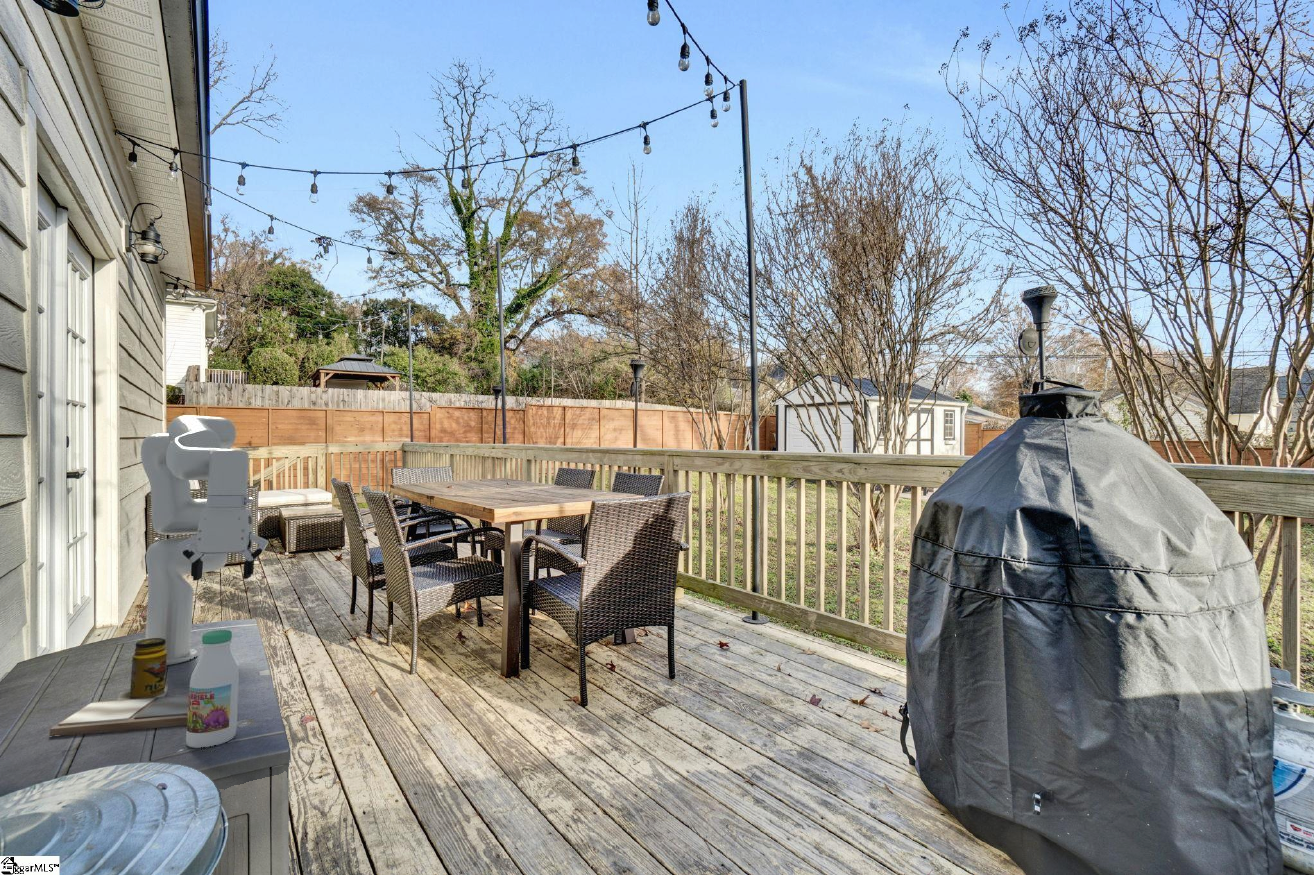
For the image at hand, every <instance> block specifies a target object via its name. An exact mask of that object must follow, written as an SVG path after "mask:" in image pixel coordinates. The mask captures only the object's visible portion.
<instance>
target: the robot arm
mask: <svg viewBox="0 0 1314 875" xmlns="http://www.w3.org/2000/svg"><path fill="white" fill-rule="evenodd" d="M166 432H167V433H165V432H164V433H163V432H162V433H153V434H150V435H148V436H146V437H145V438H144V439H143V440H142V442H141V446H140V447H141V448H140V459H141V460H140V461H141V464H142V467H143V470H144V473H145V474H146V477H147V479H148V482H149V485H150V499H151V501H150V502H151V505H150V506H151V521H152V522H151V523H152V528H153V530H154V531H155V532H156V533H157V534H160V535H166V536H167V535H168V536H169V535H189V534H191V535H192V534H196V535H193V536H191V537H179V538H178V537H177V538H167V539H162V540H157V541H156V542H153V543H152V544H150V545H149V546H148V548H147V550H146V554H145V562H146V570H147V581H148V582H147V584H148V586H147V587H148V588H147V589H148V591H147V592H148V593H147V606H146V609H147V610H146V624H145V638H144V640H145V639H150V638H163V639H165V641H166V642H165V650H166V651H167V659H166V666H171V665H176V664H177V665H178V664H181V663H185V662H188V661H191V660H192V659H194V657H195V658H196V657H197V655H198V650H197V649H193V648H191V643H192V640H193V637H192V624H193V623H192V622H193V607H194V606H193V605H194V604H193V603H194V588H193V587H192V585H191V583H190V582H189V581H187V580H186V578H184V577H183V576H184V575H188V574H190V576H191V577H192V581H195V582H196V581H198V580H200V579H201V580H202V578H203V573H207V572H214V571H219V570H221V569H223V567H225V565H226V563H227V560H228V554H241V555H242V556H243V557H244V559H245V561H244V562H243V571H242V572H243V573H242V574H243V575H242V578H243V580H247V579H249V578H250V579H251V576H252V575H253V574H254V570H255V569H254V568H255V560H256V559H257V558H258V557H259V556H260V555H261V554H262V553H264V550H266V548H267V546H268V544H269V540H267V539H265V538H264V537H261V536H258V535H256V534H254V528H253V517H252V516H253V515H252V510H251V508H247V507H248V506H249V505H254V503H255V502H254V501H255V500H254V497H249V496H248V483H249V482H248V481H249V480H248V479H249V464H250V463H249V459H250V455H249V453H248V451H246V450H244V449H239V448H238V449H236V448H234V449H233V447H232V446H233V445H234V443H235V442H236V437H237V431H236V427H235V425H234V423H233V422H232V421H231V420H230V419H228V418H226V417H220V416H208V415H207V416H206V415H194V414H193V415H192V414H190V415H189V414H187V415H180V416H178V417H175V418H173V419H172V420H171V421H170V422H169V423H168V426H167V431H166ZM190 481H207V487H206V488H207V490H206V498H193V497H192V495H191V492H192V491H191V482H190ZM254 543H256V544H258V547H257V549H255V550H254V551H253V550H252V548H253V544H254ZM190 659H191V660H190Z"/></svg>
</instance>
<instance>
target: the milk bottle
mask: <svg viewBox="0 0 1314 875" xmlns="http://www.w3.org/2000/svg"><path fill="white" fill-rule="evenodd" d="M232 634H233V632H232V630H229V629H215V630H211V631H207V632H205V633H203V634H202V638H201V642H202V644H201V646H202V647H203V648H202V653H201V656H200V658H199V660H198V661H197V664H196V665H195V667H194V669H193V671H192V673H191V676H190V680H189V686H188V687H189V688H188V695H189V698H188V713H187V725H186V729H185V730H186V734H185V735H186V736H185V743H186V745H187V747H189V748H194V749H202V748H203V747H205V748H210V746H211V747H215V746H214V745H216V746H219V745H222V744H225V743H226V742H229V741H231V740H232V739H233V738H234V737H235V736H236V734H237V726H238V725H237V724H238V705H239V689H240V687H239V685H240V683H239V682H240V680H239V679H240V678H239V677H240V674H239V668H238V665H237V662H236V660H235V659H234V657H233V655H232V651H231V643H232V639H233V638H232V637H233V635H232ZM201 747H202V748H201Z"/></svg>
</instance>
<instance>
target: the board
mask: <svg viewBox="0 0 1314 875" xmlns="http://www.w3.org/2000/svg"><path fill="white" fill-rule="evenodd" d="M188 698H189V694H181V695H169V696H168V695H167V696H166V695H165V696H164V697H152V698H139V699H126V700H117V699H115V700H103V701H101V700H100V701H91V702H90V703H88V704H87V705H85V706H84V707H82V708H80V709H79V710H77V711H75V712H74V713H73V714H71V715H69V716H68V717H66V718H65V719H63V720H61V721H60V722H59V723H57V724H56V725H54V726H52V727H51V728H50V729H49V736H55V735H67V736H76V735H75V734H80V735H89V734H90V735H91V734H100V733H111V732H112V733H113V732H123V731H124V732H125V731H132V730H133V731H135V730H146V729H157V728H167V727H181V726H187V713H188ZM67 736H66V737H67Z"/></svg>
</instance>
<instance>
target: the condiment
mask: <svg viewBox="0 0 1314 875" xmlns="http://www.w3.org/2000/svg"><path fill="white" fill-rule="evenodd" d="M165 642H166V641H165V639H163V638H150V639H145V638H144V639H142V640H139V641H136V643H135V649H134V653H133V655H132V661H131V673H130V674H131V678H130V686H129V687H130V690H126V691H122V692H121V691H120V692H119V695H118V697H117V698H116V700H126V699H139V698H152V697H166V694H167V691H168V689H169V688H168V687H169V686H168V685H167V686H166V677H167V676H166V674H167V673H166V672H167V665H166V659H167V651H166V650H165Z"/></svg>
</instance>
